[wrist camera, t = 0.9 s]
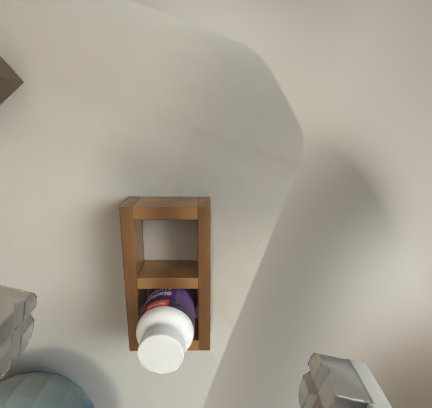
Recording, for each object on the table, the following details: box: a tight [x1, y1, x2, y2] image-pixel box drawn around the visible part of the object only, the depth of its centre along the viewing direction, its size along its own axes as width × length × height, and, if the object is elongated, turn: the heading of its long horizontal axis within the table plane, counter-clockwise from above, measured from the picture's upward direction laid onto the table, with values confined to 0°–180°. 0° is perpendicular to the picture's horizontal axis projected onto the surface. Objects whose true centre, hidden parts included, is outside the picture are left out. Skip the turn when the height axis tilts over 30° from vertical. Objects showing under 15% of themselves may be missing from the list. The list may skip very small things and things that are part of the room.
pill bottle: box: [136, 289, 197, 374], centre depth 33 cm, size 5×5×10 cm
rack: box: [119, 197, 211, 351], centre depth 35 cm, size 8×16×4 cm, turn 0°
